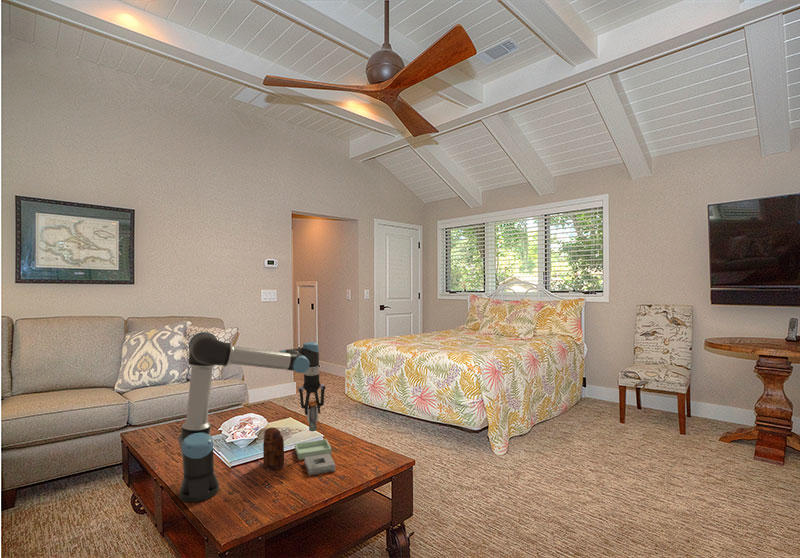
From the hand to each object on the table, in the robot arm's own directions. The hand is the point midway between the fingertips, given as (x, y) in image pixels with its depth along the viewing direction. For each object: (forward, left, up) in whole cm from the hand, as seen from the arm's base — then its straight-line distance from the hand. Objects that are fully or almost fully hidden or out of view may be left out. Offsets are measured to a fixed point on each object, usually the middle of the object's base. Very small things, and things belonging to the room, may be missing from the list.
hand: (312, 420), depth 232 cm
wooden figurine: (-20, -8, -16) cm, 27 cm away
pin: (0, 0, -5) cm, 5 cm away
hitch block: (0, -17, -16) cm, 23 cm away
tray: (0, 0, -16) cm, 16 cm away
